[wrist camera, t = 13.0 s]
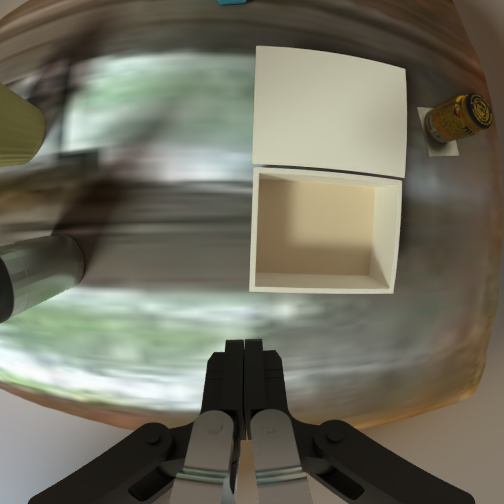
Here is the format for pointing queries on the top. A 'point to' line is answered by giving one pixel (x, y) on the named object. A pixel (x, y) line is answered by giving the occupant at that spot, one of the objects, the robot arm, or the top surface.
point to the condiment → (454, 123)
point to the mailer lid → (329, 111)
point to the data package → (231, 2)
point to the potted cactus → (19, 128)
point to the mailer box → (324, 232)
